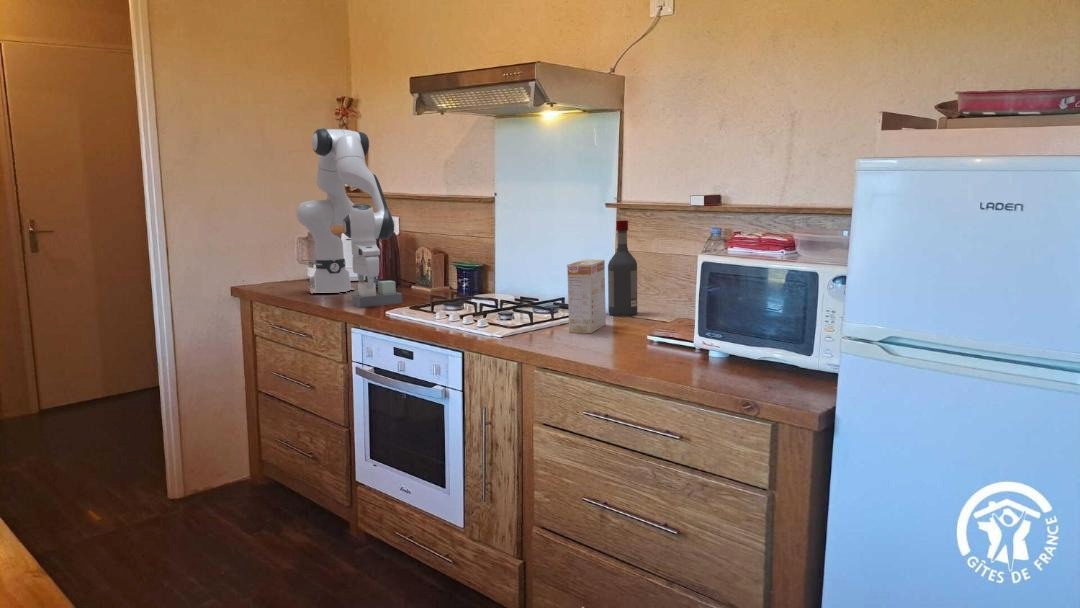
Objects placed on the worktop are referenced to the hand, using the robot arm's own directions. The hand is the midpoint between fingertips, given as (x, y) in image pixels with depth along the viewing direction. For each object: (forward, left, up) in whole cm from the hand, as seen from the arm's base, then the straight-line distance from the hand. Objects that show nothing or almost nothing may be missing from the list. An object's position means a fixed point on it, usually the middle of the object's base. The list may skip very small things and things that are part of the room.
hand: (366, 287), depth 276 cm
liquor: (+74, +61, -7) cm, 96 cm away
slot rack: (0, +4, -7) cm, 8 cm away
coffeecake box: (+89, +37, -7) cm, 97 cm away
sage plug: (0, +8, -6) cm, 10 cm away
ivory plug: (0, 0, -6) cm, 6 cm away
